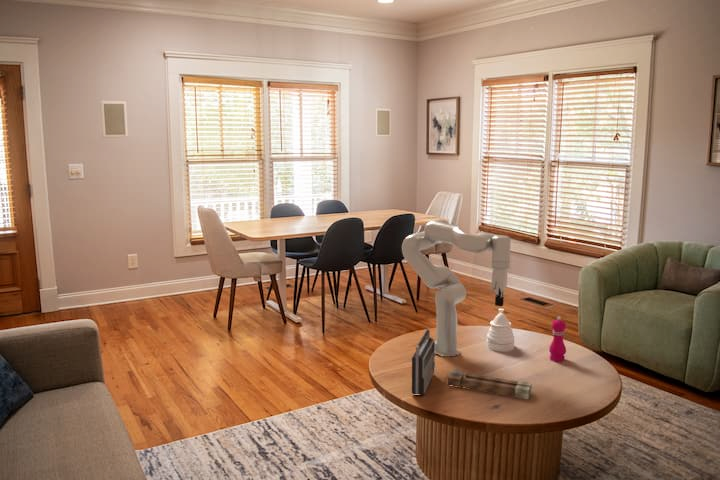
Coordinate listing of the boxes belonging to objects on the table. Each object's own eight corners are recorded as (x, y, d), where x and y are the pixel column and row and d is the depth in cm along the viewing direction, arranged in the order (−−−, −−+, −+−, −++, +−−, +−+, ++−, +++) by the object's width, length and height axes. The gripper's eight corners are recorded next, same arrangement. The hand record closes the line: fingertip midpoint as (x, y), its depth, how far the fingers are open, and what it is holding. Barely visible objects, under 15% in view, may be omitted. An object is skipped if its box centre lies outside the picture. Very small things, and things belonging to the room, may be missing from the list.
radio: (425, 397, 235) (425, 348, 231) (411, 395, 236) (412, 347, 233) (436, 373, 258) (436, 328, 254) (423, 372, 259) (424, 327, 256)
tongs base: (446, 385, 246) (446, 376, 245) (452, 377, 253) (452, 368, 252) (528, 399, 232) (528, 389, 231) (531, 391, 239) (532, 382, 238)
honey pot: (485, 341, 296) (486, 306, 293) (512, 342, 294) (513, 307, 291) (487, 351, 284) (488, 314, 281) (515, 352, 282) (516, 314, 279)
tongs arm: (464, 383, 246) (465, 374, 246) (467, 380, 249) (467, 372, 248) (529, 395, 235) (530, 385, 234) (531, 392, 238) (531, 382, 237)
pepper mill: (563, 356, 275) (565, 314, 272) (567, 362, 268) (569, 319, 265) (547, 356, 276) (549, 314, 272) (550, 362, 269) (552, 319, 265)
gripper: (496, 260, 267) (494, 300, 270) (487, 267, 254) (486, 309, 257) (513, 261, 264) (511, 302, 267) (505, 268, 251) (503, 311, 254)
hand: (499, 305), depth 262 cm, fingers closed
